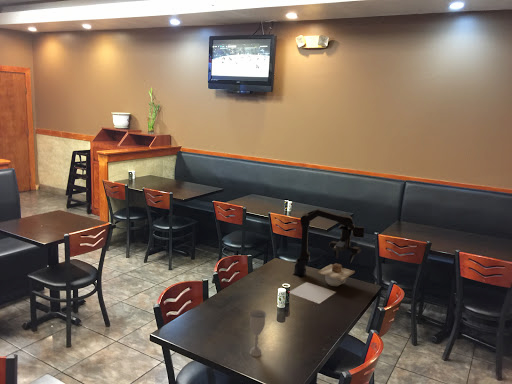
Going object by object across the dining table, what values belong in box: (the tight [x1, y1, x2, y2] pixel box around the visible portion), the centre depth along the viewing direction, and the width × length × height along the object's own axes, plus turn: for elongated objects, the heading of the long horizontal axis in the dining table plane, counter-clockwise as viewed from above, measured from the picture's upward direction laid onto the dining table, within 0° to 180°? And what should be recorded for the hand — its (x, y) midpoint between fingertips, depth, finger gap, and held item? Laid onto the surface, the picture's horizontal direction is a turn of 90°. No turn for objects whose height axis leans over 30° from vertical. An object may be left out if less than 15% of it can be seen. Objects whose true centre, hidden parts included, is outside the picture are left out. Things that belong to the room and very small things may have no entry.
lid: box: [317, 263, 355, 281], centre depth 246 cm, size 16×16×5 cm
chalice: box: [248, 309, 267, 357], centre depth 173 cm, size 7×7×18 cm
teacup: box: [324, 275, 347, 287], centre depth 247 cm, size 14×11×8 cm
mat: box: [289, 281, 337, 305], centre depth 236 cm, size 20×20×1 cm
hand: (343, 260), depth 253 cm, fingers open, 9 cm apart
